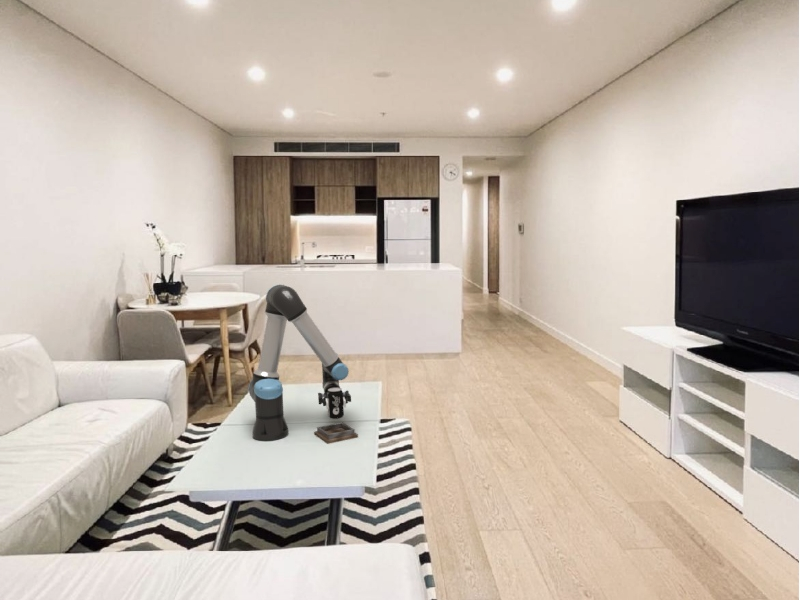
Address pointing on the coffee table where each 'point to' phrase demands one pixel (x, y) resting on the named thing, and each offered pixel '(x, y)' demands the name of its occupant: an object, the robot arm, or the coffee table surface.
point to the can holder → (335, 433)
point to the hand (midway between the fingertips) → (336, 404)
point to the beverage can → (335, 403)
